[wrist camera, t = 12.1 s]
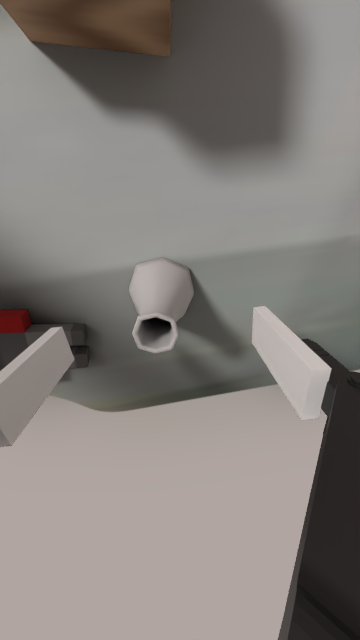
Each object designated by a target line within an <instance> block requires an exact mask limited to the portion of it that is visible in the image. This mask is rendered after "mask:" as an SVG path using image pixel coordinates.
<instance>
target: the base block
mask: <svg viewBox="0 0 360 640" xmlns="http://www.w3.org/2000/svg"><path fill="white" fill-rule="evenodd" d="M0 4H1V5H2V6H3V7H4V9H5V10H6V11H7V12H8V14H9V15H10V16H11V17H12V19H13V20H14V21H15V22H16V24H17V25H18V26H19V27H20V29H21V30H22V31H23V32H24V34H25V35H26V36H27V38H28V39H29V40H30V41H33V42H42V43H51V44H60V45H69V46H78V47H87V48H96V49H105V50H114V51H123V52H132V53H141V54H150V55H159V56H168V57H170V42H171V7H172V0H0Z"/></svg>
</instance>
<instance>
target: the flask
mask: <svg viewBox="0 0 360 640" xmlns="http://www.w3.org/2000/svg"><path fill="white" fill-rule="evenodd" d="M129 292H130V295H131V297H132V300H133V303H134V305H135V308H136V311H137V313H138V315H139V316H138V318H137V321H136V323H135V326H134V329H133V332H132V334H133V337H134V339H135V342H136V344H137V347H138V349H141V350H144V351H147V352H151V353H154V354H157V353H161V352H166V351H170V350H172V349H173V347H174V345H175V343H176V341H177V339H178V337H179V332H178V328H177V325H176V322H177V321H178V320H179V319H180V318H181V317H183V316H184V315H185V313H186V310H187V308H188V306H189V304H190V302H191V300H192V297H193V295H194V289H193V284H192V280H191V276H190V272H189V268H188V267H186V266H183V265H181V264H178V263H176V262H174V261H171V260H169V259H166V258H164V257H162V258H158V259H154V260H150V261H147V262H143V263H139V264H136V267H135V270H134V273H133V276H132V279H131V283H130V286H129Z"/></svg>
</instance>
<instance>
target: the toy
mask: <svg viewBox="0 0 360 640" xmlns="http://www.w3.org/2000/svg"><path fill="white" fill-rule="evenodd" d="M53 327H62V328H63V330H64V333H65V336H66V338H67V341H68V344H69V346H70V349H71V351H72V354H73V357H74V359H75V360H74V361H73V362H72V364H71V365H70V367H69V368H81V367H88V363H89V359H90V358H89V350H88V347H87V346H76V345H85V342H86V339H87V334H86V326H85V324H76V323H72V324H36V325H32V324H31V320H30V316H29V312H28V309H3V310H0V371H1V370H2V369H3V368H5V367H6V366H7V365H8V364H9V363H10V362H12V361H13V360H14V359H15V358H16V357H17V356H19V355H20V354H21V353H22V352H23V351H25V350H26V349H27V348H28V347H29V346H30V345H32V344H33V343H34V342H35V341H36V340H37V339H39V338H40V337H41V336H42V335H43V334H44V333H46V332H47V331H48V330H49V329H50V328H53Z"/></svg>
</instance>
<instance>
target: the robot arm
mask: <svg viewBox="0 0 360 640" xmlns="http://www.w3.org/2000/svg"><path fill="white" fill-rule="evenodd" d="M252 344H253V345H254V347H255V348H256V350H257V351H258V353H259V355H260V356H261V358H262V359H263V361H264V362H265V364H266V365H267V367H268V369H269V370H270V372H271V373H272V375H273V376H274V378H275V380H276V381H277V383H278V384H279V386H280V387H281V389H282V391H283V392H284V394H285V395H286V397H287V398H288V400H289V402H290V403H291V405H292V406H293V408H294V409H295V411H296V413H297V414H298V416H299V417H300V419H301V420H310V419H319V416H320V412H321V409H322V410H323V411H324V412H325V414H326V415H327V416H328V417H327V421H326V424H325V428H324V432H323V439H322V444H321V448H320V453H319V457H318V461H317V466H316V471H315V475H314V480H313V484H312V489H311V493H310V498H309V503H308V507H307V512H306V516H305V521H304V525H303V530H302V534H301V539H300V544H299V549H298V553H297V557H296V562H295V566H294V571H293V576H292V580H291V585H290V589H289V594H288V598H287V603H286V607H285V612H284V617H283V621H282V625H281V629H280V633H279V638H278V640H360V373H357V372H350V371H349V370H348V369H346V368H345V367H344V366H343V365H342V364H341V363H339V362H338V361H337V360H336V359H335V358H334V357H332V356H331V355H330V354H329V353H328V352H327V351H324V349H323V348H322V347H321V346H319V345H318V344H317V343H315V342H313V341H311V340H309V339H300V338H298V337H297V336H296V335H295V334H294V333H293V332H292V331H291V330H290V329H289V328H288V327H287V326H286V325H285V324H284V323H282V322H281V321H280V320H279V319H278V318H277V317H276V316H275V315H274V314H273V313H272V312H271V311H270V310H269V309H268V308H266V307H265V306H262V307H254V309H253V329H252ZM74 360H75V359H74V357H73V354H72V351H71V349H70V346H69V344H68V341H67V338H66V336H65V333H64V330H63V328H62V327H53V328H50V329H49V330H48V331H47V332H46V333H44V334H43V335H42V336H41V337H40V338H39V339H37V340H36V341H35V342H34V343H33V344H32V345H30V346H29V347H28V348H27V349H26V350H25V351H23V352H22V353H21V354H20V355H19V356H17V357H16V358H15V359H14V360H13V361H12V362H10V363H9V364H8V365H7V366H6V367H5V368H3V369H2V370H1V371H0V447H4V446H12V445H13V443H14V442H15V440H16V439H17V438H18V436H19V435H20V434H21V432H22V431H23V429H24V428H25V427H26V425H27V424H28V423H29V421H30V420H31V418H32V417H33V416H34V414H35V413H36V412H37V410H38V409H39V408H40V406H41V405H42V404H43V402H44V400H45V399H46V398H47V397H48V395H49V394H50V393H51V391H52V390H53V388H54V387H55V386H56V384H57V383H58V382H59V380H60V379H61V378H62V376H63V375H64V373H65V372H66V371H67V369H68V368H69V367H70V365H71V364H72V362H73V361H74Z"/></svg>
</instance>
